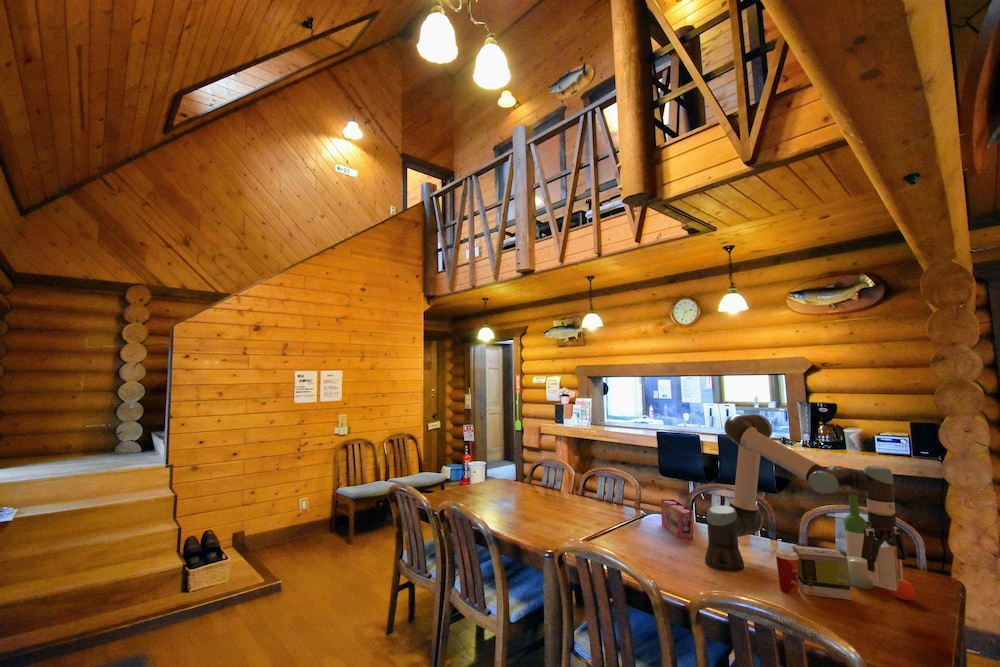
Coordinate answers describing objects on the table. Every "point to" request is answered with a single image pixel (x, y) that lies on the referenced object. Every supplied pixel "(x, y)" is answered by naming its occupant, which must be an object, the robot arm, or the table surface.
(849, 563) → the sage mug
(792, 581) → the paper cup
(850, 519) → the wine bottle
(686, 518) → the gum box
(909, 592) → the strawberry
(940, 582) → the table surface
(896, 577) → the small box
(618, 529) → the table surface
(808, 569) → the tea box
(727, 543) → the robot arm
